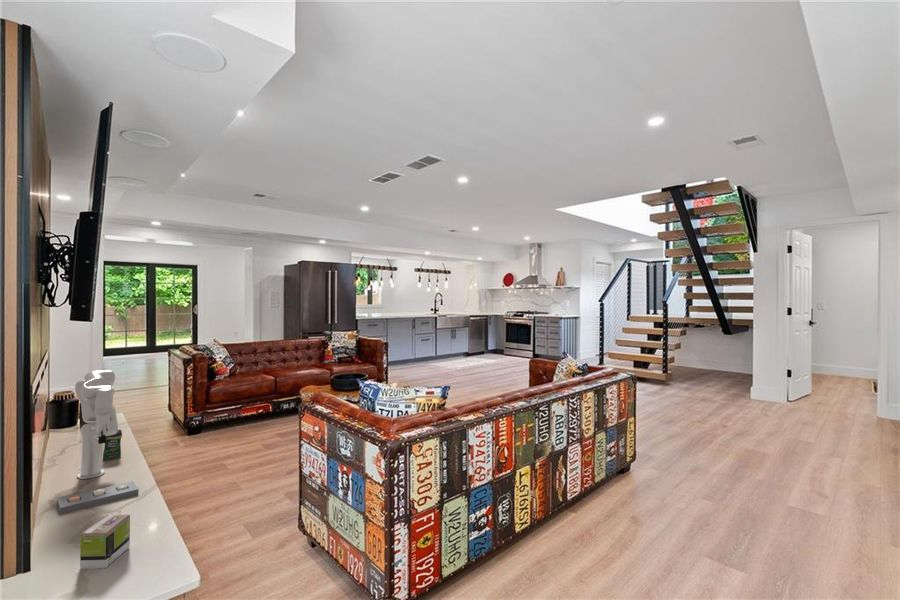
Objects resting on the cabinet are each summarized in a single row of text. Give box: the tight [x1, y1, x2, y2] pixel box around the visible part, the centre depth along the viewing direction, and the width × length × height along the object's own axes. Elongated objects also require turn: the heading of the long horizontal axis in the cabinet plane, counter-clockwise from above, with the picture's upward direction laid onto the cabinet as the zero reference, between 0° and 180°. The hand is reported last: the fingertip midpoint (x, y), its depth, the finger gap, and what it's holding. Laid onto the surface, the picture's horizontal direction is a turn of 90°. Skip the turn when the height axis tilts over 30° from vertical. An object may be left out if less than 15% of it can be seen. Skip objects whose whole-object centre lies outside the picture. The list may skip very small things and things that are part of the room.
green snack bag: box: [102, 429, 123, 461], centre depth 284 cm, size 10×8×19 cm
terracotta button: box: [69, 496, 80, 502], centre depth 220 cm, size 4×4×3 cm
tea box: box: [79, 514, 131, 570], centre depth 178 cm, size 15×10×15 cm
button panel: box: [56, 480, 139, 515], centre depth 228 cm, size 14×32×3 cm, turn 137°
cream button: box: [94, 488, 105, 496], centre depth 228 cm, size 4×4×3 cm
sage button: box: [117, 485, 127, 491], centre depth 235 cm, size 4×4×3 cm
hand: (102, 443), depth 240 cm, fingers closed
